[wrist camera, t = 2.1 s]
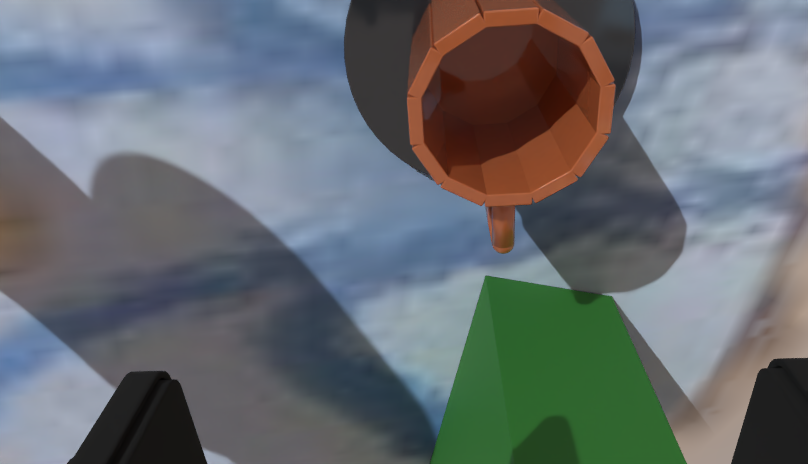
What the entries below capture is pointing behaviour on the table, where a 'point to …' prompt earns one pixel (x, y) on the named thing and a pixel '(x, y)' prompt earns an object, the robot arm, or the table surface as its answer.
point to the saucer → (391, 45)
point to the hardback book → (551, 385)
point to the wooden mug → (506, 103)
